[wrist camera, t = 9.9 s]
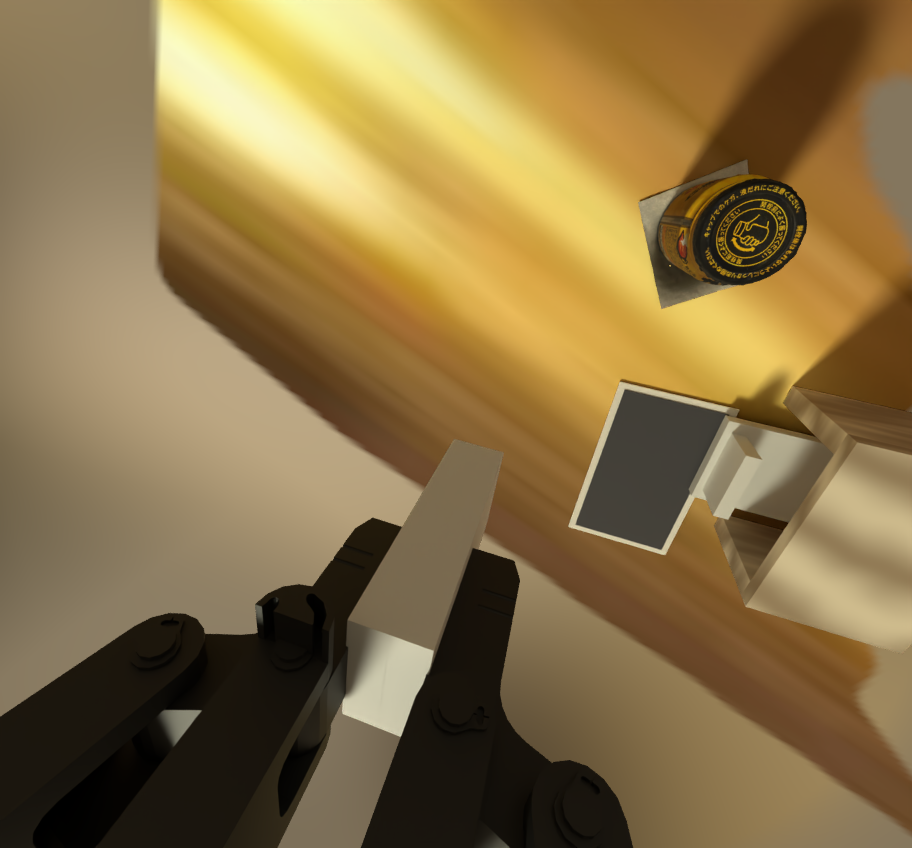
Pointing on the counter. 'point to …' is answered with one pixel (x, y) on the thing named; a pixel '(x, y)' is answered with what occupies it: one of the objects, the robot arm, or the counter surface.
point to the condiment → (721, 232)
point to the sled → (758, 469)
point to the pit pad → (646, 466)
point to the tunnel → (839, 530)
